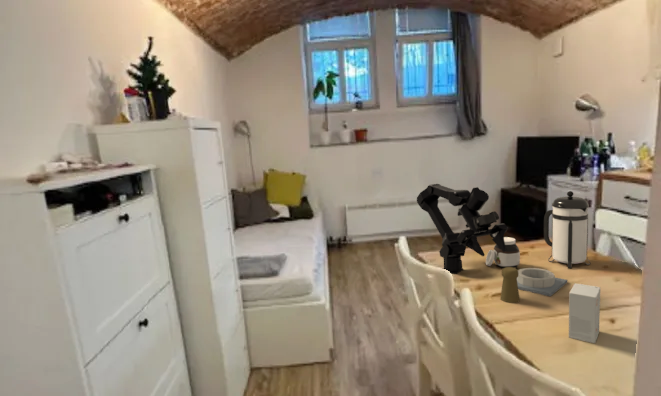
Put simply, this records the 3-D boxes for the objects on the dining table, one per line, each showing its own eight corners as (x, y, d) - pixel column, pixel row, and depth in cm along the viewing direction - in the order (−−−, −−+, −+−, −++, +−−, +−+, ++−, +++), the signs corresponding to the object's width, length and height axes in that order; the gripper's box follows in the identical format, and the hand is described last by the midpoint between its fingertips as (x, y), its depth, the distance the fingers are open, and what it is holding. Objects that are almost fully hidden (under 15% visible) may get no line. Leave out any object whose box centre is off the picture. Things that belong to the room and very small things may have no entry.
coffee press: (590, 258, 167) (592, 188, 163) (590, 271, 154) (592, 194, 150) (543, 254, 177) (544, 187, 172) (540, 266, 164) (540, 193, 159)
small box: (573, 325, 115) (574, 282, 113) (599, 331, 111) (601, 286, 109) (567, 337, 109) (568, 292, 107) (595, 344, 105) (596, 297, 103)
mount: (503, 285, 147) (503, 275, 146) (522, 273, 157) (522, 263, 157) (550, 296, 135) (550, 285, 134) (567, 282, 145) (567, 272, 145)
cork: (522, 303, 132) (522, 271, 130) (502, 302, 133) (502, 271, 131) (517, 295, 138) (517, 265, 136) (498, 295, 139) (498, 265, 137)
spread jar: (523, 268, 162) (523, 240, 160) (498, 273, 160) (498, 244, 158) (503, 260, 174) (503, 234, 172) (480, 264, 171) (480, 237, 169)
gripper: (460, 208, 140) (483, 245, 131) (503, 201, 146) (528, 236, 137) (448, 226, 149) (468, 262, 140) (489, 219, 155) (511, 253, 146)
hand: (494, 253), depth 140 cm, fingers open, 9 cm apart
